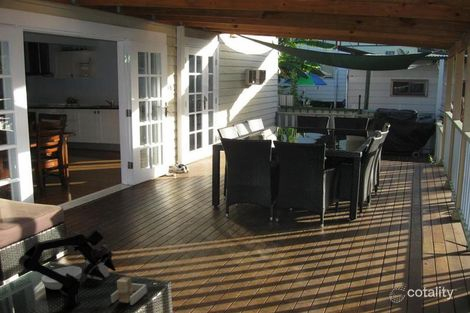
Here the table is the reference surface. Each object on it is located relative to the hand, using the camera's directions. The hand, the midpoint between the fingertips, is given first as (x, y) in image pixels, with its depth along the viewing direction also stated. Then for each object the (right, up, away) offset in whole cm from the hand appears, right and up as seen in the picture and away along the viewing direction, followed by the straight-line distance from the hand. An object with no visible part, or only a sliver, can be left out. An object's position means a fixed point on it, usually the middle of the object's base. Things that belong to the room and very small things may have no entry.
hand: (110, 274), depth 233 cm
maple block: (+8, -13, 0) cm, 15 cm away
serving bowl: (-32, -12, +24) cm, 42 cm away
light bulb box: (-15, -9, +31) cm, 36 cm away
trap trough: (+9, -12, +3) cm, 15 cm away
